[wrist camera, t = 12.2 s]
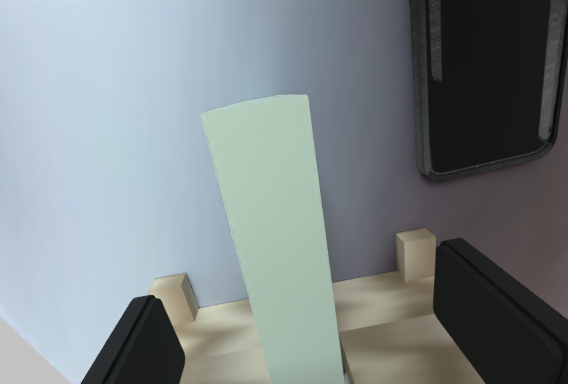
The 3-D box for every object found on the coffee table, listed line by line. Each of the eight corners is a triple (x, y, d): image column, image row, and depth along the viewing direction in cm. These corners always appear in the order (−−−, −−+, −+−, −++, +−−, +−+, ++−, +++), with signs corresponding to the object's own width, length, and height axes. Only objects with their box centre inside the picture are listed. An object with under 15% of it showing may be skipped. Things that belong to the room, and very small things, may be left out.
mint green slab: (318, 342, 21) (365, 550, 11) (293, 346, 20) (318, 559, 11) (278, 94, 14) (307, 94, 5) (241, 101, 14) (199, 113, 5)
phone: (603, -208, 11) (555, 155, 16) (573, -181, 12) (536, 152, 17) (409, -160, 11) (423, 186, 16) (396, -137, 12) (413, 180, 17)
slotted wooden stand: (191, 364, 20) (148, 521, 13) (155, 278, 18) (75, 415, 10) (423, 319, 21) (516, 449, 13) (425, 227, 18) (543, 325, 10)
